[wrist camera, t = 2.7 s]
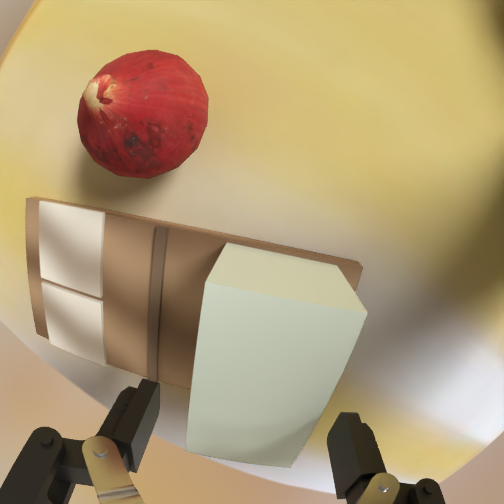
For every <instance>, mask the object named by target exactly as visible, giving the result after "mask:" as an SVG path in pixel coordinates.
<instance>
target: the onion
mask: <svg viewBox="0 0 504 504" xmlns="http://www.w3.org/2000/svg"><path fill="white" fill-rule="evenodd" d="M208 99H209V98H208V95H207V93H206V90H205V88H204V85H203V83H202V80H201V77H200V76H199V75H198V74H197V73H196V72H195V71H194V70H193V69H192V68H191V67H190V66H189V65H188V64H187V63H186V62H185V61H184V60H183V59H182V58H181V57H179V56H177V55H174V54H170V53H166V52H162V51H158V50H146V51H140V52H134V53H128V54H125V55H123V56H121V57H119V58H117V59H115V60H114V61H112V62H110V63H108V64H106V65H105V66H104V67H103V68H102V69H101V70H100V71H99V72H98V73H97V74H96V76H95V77H94V78H93V79H92V80H90V81H89V83H88V86H87V88H86V90H85V91H84V92H83V94H82V97H81V99H80V103H79V110H78V117H77V123H78V128H79V133H80V138H81V141H82V143H83V145H84V147H85V148H86V150H87V151H88V152H89V154H90V155H91V157H92V158H93V160H94V161H95V162H96V163H98V164H99V165H101V166H102V167H104V168H106V169H107V170H109V171H111V172H112V173H114V174H116V175H118V176H125V177H136V178H146V179H150V178H152V177H155V176H157V175H160V174H162V173H165V172H168V171H170V170H173V169H175V168H177V167H179V166H180V165H181V164H182V163H183V162H184V161H185V160H186V159H187V158H188V157H189V156H190V155H191V154H192V153H193V152H194V151H195V150H196V149H197V148H198V146H199V143H200V141H201V138H202V136H203V133H204V131H205V128H206V126H207V121H208Z"/></svg>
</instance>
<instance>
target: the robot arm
mask: <svg viewBox="0 0 504 504" xmlns="http://www.w3.org/2000/svg"><path fill="white" fill-rule="evenodd" d="M159 409H160V383H157V382H153V381H150V380H146V379H142V381H141V382H140V384H139V386H138V388H134V387H131V386H129V387H127V388H126V389H125V390H123V391H122V392H121V393H120V394H119V396H118V398H117V400H116V402H115V403H114V405H113V407H112V409H111V410H110V412H109V414H108V415H107V417H106V419H105V421H104V423H103V425H102V426H101V428H100V430H99V432H98V433H97V434H96V435H95V436H93V437H90V438H88V439H87V440H73V439H67V438H62V437H61V435H60V434H59V433H58V432H57V431H56V430H55V429H52V428H50V427H40V428H37V429H36V430H34V431H33V433H32V434H31V436H30V437H29V439H28V441H27V442H26V444H25V446H24V447H23V449H22V451H21V452H20V454H19V456H18V458H17V459H16V461H15V463H14V464H13V466H12V468H11V470H10V472H9V473H8V475H7V477H6V479H5V481H4V483H3V485H2V487H1V488H0V504H68V502H69V500H70V498H71V495H72V493H73V490H74V488H75V485H76V484H82V485H89V486H94V487H95V490H96V493H97V497H98V500H99V503H100V504H145V503H144V501H143V499H142V498H141V496H140V494H139V492H138V491H137V489H136V488H135V487H134V485H133V483H132V480H131V478H130V476H129V474H128V473H129V471H132V472H135V473H137V470H138V467H139V465H140V462H141V459H142V457H143V454H144V451H145V449H146V446H147V443H148V441H149V438H150V436H151V433H152V431H153V428H154V425H155V423H156V420H157V418H158V414H159ZM327 446H328V451H329V456H330V462H331V467H332V472H333V478H334V483H335V489H336V495H337V499H346V501H347V503H346V504H445V501H444V498H443V495H442V492H441V489H440V487H439V485H438V483H437V482H436V481H434V480H432V479H429V478H425V479H422V480H420V481H419V482H418V483H416V484H407V483H400V482H399V481H398V480H397V478H396V477H395V476H393V475H391V474H389V473H387V471H386V469H385V466H384V463H383V460H382V457H381V454H380V451H379V448H378V445H377V442H376V441H375V437H374V434H373V431H372V430H371V429H370V427H369V426H368V425H367V424H366V423H362V422H361V420H360V417H359V414H358V413H351V412H341V413H340V414H339V416H338V418H337V419H336V421H335V423H334V425H333V426H332V428H331V430H330V431H329V433H328V437H327Z"/></svg>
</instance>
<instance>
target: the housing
mask: <svg viewBox="0 0 504 504" xmlns="http://www.w3.org/2000/svg"><path fill="white" fill-rule="evenodd" d="M367 314H368V313H367V311H366V309H365V308H364V306H363V305H362V303H361V301H360V300H359V298H358V297H357V295H356V294H355V292H354V290H353V289H352V287H351V286H350V284H349V283H348V281H347V280H346V278H345V277H344V275H343V274H342V272H341V271H340V269H339V268H338V266H337V265H332V264H328V263H323V262H318V261H314V260H309V259H304V258H299V257H295V256H290V255H285V254H280V253H276V252H271V251H266V250H261V249H256V248H252V247H247V246H242V245H237V244H232V243H228V242H227V243H226V245H225V247H224V248H223V250H222V252H221V254H220V256H219V258H218V259H217V261H216V263H215V265H214V267H213V269H212V270H211V272H210V274H209V276H208V278H207V280H206V282H205V288H204V294H203V301H202V308H201V315H200V322H199V330H198V337H197V345H196V352H195V360H194V369H193V377H192V386H191V395H190V404H189V414H188V424H187V434H186V446H185V451H187V452H191V453H196V454H200V455H205V456H209V457H214V458H219V459H225V460H231V461H237V462H243V463H250V464H258V465H267V466H277V467H289V468H291V466H292V464H293V463H294V461H295V460H296V458H297V456H298V455H299V453H300V452H301V450H302V448H303V447H304V445H305V443H306V441H307V440H308V438H309V436H310V435H311V433H312V431H313V429H314V427H315V426H316V424H317V422H318V420H319V418H320V417H321V415H322V413H323V411H324V409H325V407H326V405H327V403H328V401H329V399H330V397H331V395H332V393H333V391H334V389H335V387H336V385H337V383H338V381H339V379H340V377H341V375H342V373H343V371H344V369H345V366H346V364H347V362H348V360H349V358H350V355H351V353H352V351H353V348H354V346H355V344H356V341H357V339H358V337H359V334H360V332H361V329H362V327H363V324H364V322H365V319H366V317H367Z"/></svg>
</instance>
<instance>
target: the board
mask: <svg viewBox="0 0 504 504" xmlns="http://www.w3.org/2000/svg"><path fill="white" fill-rule="evenodd" d="M227 242H228V243H232V244H237V245H242V246H247V247H252V248H256V249H261V250H266V251H271V252H276V253H280V254H285V255H290V256H295V257H299V258H304V259H309V260H314V261H318V262H323V263H328V264H332V265H337V266H338V268H339V269H340V271H341V272H342V274H343V275H344V277H345V278H346V280H347V281H348V283H349V284H350V286H351V287H352V289H353V290H354V292H355V290H356V287H357V284H358V281H359V278H360V275H361V272H362V269H363V267H362V266H361V265H360V263H359V262H357V261H352V260H348V259H343V258H339V257H334V256H329V255H325V254H320V253H316V252H311V251H306V250H302V249H297V248H292V247H288V246H283V245H278V244H274V243H269V242H264V241H259V240H254V239H250V238H245V237H240V236H235V235H230V234H226V233H221V232H216V231H211V230H206V229H201V228H196V227H191V226H186V225H181V224H176V223H171V222H166V221H161V220H156V219H151V218H146V217H141V216H136V215H130V214H125V213H120V212H115V211H110V210H104V209H99V208H94V207H89V206H83V205H78V204H73V203H67V202H62V201H56V200H51V199H45V198H40V197H31V198H26V254H27V268H28V279H29V288H30V296H31V303H32V310H33V316H34V322H35V327H36V332H37V334H39V335H41V336H43V337H45V338H47V339H49V340H50V344H52V345H54V346H56V347H59V348H61V349H63V350H65V351H68V352H70V353H72V354H74V355H77V356H79V357H82V358H84V359H87V360H89V361H92V362H94V363H97V364H99V365H102V366H104V367H106V365H107V364H110V365H112V366H115V367H118V368H121V369H124V370H127V371H130V372H133V373H136V374H139V375H142V376H145V377H148V380H150V381H153V382H158V381H162V382H165V383H169V384H173V385H176V386H180V387H184V388H188V389H191V386H192V377H193V369H194V360H195V352H196V345H197V337H198V330H199V322H200V315H201V308H202V301H203V294H204V288H205V282H206V280H207V278H208V276H209V274H210V272H211V270H212V269H213V267H214V265H215V263H216V261H217V259H218V258H219V256H220V254H221V252H222V250H223V248H224V247H225V245H226V243H227Z"/></svg>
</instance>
